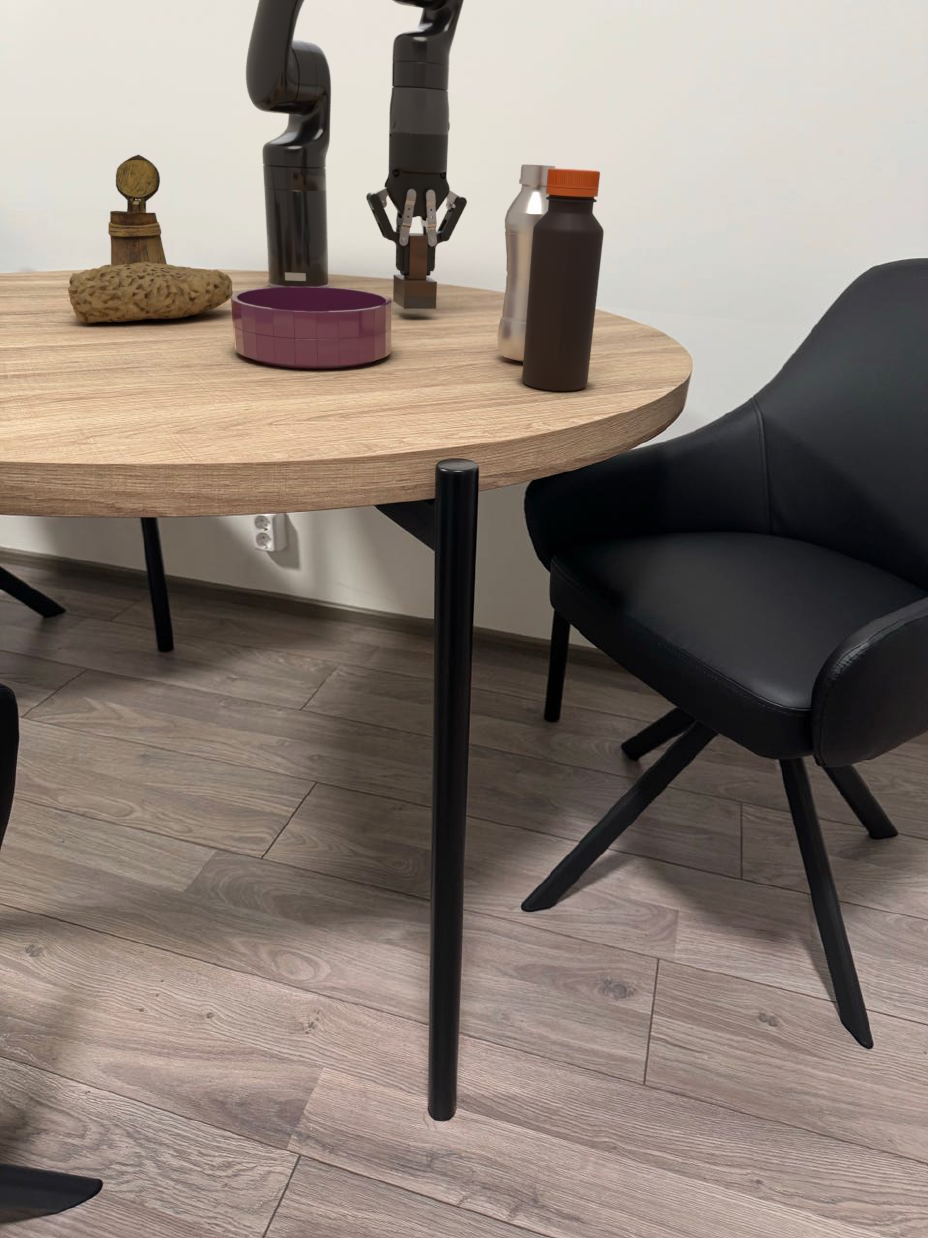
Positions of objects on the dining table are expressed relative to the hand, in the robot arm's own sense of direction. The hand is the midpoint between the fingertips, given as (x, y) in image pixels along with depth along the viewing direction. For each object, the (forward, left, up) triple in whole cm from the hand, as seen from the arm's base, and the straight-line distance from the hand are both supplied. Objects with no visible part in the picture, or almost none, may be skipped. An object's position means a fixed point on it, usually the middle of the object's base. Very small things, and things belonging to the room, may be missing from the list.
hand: (414, 274), depth 123 cm
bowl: (+22, -18, -6) cm, 29 cm away
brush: (0, 0, -4) cm, 4 cm away
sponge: (-1, -34, -6) cm, 34 cm away
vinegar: (+39, +4, -6) cm, 40 cm away
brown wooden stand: (-20, -35, -6) cm, 40 cm away
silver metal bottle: (+28, +5, -6) cm, 29 cm away
